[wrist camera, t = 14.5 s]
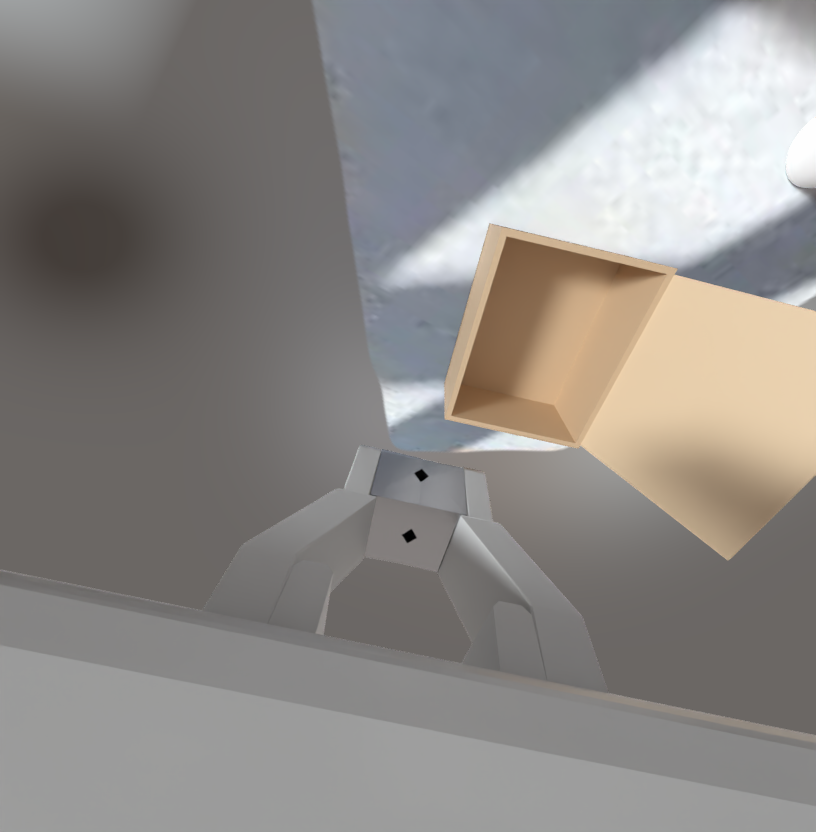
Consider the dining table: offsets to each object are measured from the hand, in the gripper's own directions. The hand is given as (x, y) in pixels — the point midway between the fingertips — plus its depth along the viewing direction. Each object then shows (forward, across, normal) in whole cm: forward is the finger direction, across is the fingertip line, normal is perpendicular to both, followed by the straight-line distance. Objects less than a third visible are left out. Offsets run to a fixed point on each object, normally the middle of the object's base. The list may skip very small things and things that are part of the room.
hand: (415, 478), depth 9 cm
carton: (+39, -13, +5) cm, 41 cm away
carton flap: (+22, -25, +5) cm, 33 cm away
